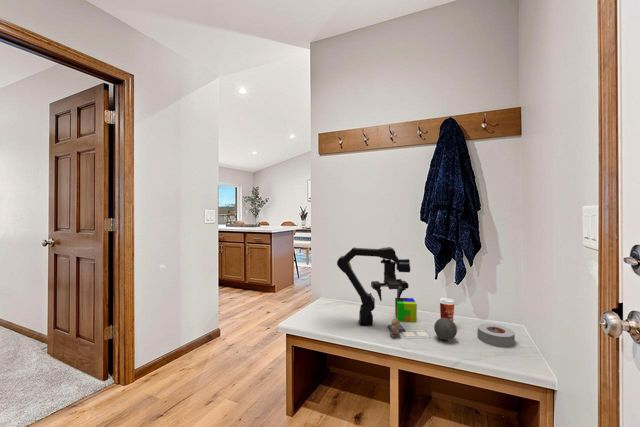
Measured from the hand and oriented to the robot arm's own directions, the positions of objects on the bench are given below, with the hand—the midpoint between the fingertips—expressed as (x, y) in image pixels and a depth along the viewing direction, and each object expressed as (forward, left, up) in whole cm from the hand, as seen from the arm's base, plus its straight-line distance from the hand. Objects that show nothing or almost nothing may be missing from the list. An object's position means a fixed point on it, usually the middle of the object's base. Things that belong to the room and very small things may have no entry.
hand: (389, 300), depth 164 cm
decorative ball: (+22, -18, -13) cm, 31 cm away
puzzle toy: (+12, +9, -13) cm, 20 cm away
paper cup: (+30, -3, -13) cm, 33 cm away
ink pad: (+2, -6, -13) cm, 14 cm away
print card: (+10, -12, -13) cm, 20 cm away
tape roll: (+46, -20, -14) cm, 52 cm away
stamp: (-1, -14, -13) cm, 19 cm away
